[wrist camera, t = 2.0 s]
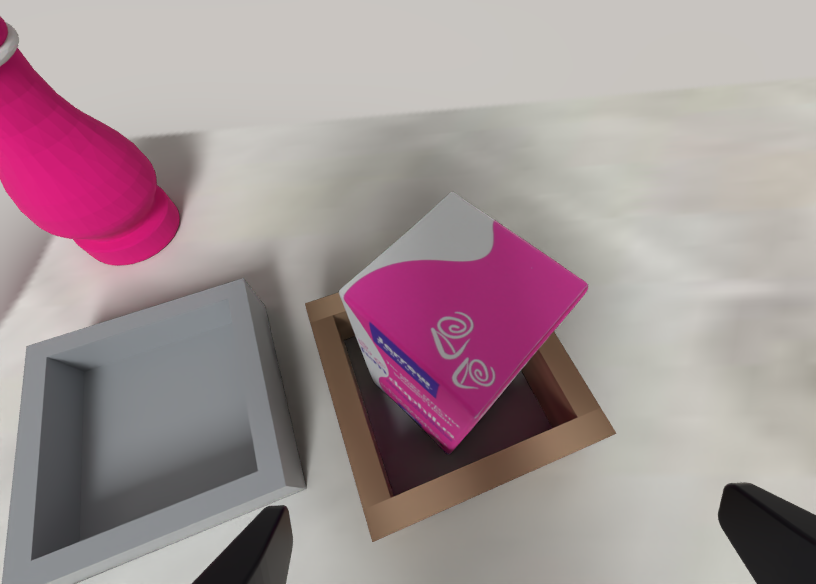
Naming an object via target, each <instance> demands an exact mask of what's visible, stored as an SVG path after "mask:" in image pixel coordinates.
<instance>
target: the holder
mask: <svg viewBox="0 0 816 584" xmlns="http://www.w3.org/2000/svg"><path fill="white" fill-rule="evenodd" d="M305 306H306V309H307V313H308V316H309V320H310V324H311V327H312V331H313V334H314V338H315V341H316V345H317V348H318V352H319V355H320V359H321V362H322V366H323V369H324V373H325V376H326V380H327V384H328V387H329V391H330V394H331V398H332V401H333V405H334V408H335V412H336V415H337V419H338V422H339V426H340V429H341V433H342V436H343V440H344V444H345V447H346V451H347V454H348V458H349V461H350V465H351V468H352V472H353V475H354V479H355V482H356V486H357V489H358V493H359V496H360V500H361V504H362V507H363V511H364V514H365V518H366V521H367V525H368V528H369V532H370V535H371V539H372V542H374V541H376V540H378V539H381V538H383V537H385V536H387V535H390V534H392V533H394V532H396V531H399V530H401V529H403V528H405V527H408V526H410V525H412V524H414V523H417V522H419V521H421V520H423V519H426V518H428V517H430V516H432V515H435V514H437V513H439V512H441V511H444V510H446V509H448V508H450V507H453V506H455V505H457V504H459V503H462V502H464V501H466V500H468V499H471V498H473V497H475V496H477V495H480V494H482V493H484V492H486V491H488V490H491V489H493V488H495V487H497V486H500V485H502V484H504V483H506V482H509V481H511V480H513V479H515V478H518V477H520V476H522V475H524V474H527V473H529V472H531V471H533V470H536V469H538V468H540V467H542V466H545V465H547V464H549V463H551V462H554V461H556V460H558V459H560V458H563V457H565V456H567V455H569V454H572V453H574V452H576V451H578V450H581V449H583V448H585V447H587V446H590V445H592V444H594V443H596V442H599V441H601V440H603V439H605V438H608V437H610V436H612V435H614V434H616V432H615V430H614V429H613V427H612V426H611V424H610V422H609V421H608V419H607V417H606V416H605V414H604V412H603V411H602V409H601V408H600V406H599V404H598V403H597V401H596V399H595V398H594V396H593V394H592V393H591V391H590V390H589V388H588V386H587V385H586V383H585V381H584V380H583V378H582V376H581V375H580V373H579V372H578V370H577V368H576V367H575V365H574V363H573V362H572V360H571V358H570V357H569V355H568V354H567V352H566V350H565V349H564V347H563V345H562V344H561V342H560V341H559V339H558V337H557V336H556V334H555V332H554V331H553V333H552V334H551V335H550V336H549V337H548V339H547V340H546V341H545V342H544V343H543V345H542V346H541V347H540V348H539V349H538V350H537V352H536V353H535V354H534V355H533V356H532V358H531V359H530V360H529V361H528V362H527V364H526V365H525V366H524V367H523V368H522V370H521V371H522V372H523V374H524V376H525V378H526V380H527V382H528V384H529V385H530V387H531V389H532V391H533V393H534V395H535V397H536V398H537V400H538V402H539V404H540V406H541V408H542V410H543V411H544V413H545V415H546V417H547V419H548V421H549V423H550V424H551V426H552V429H550V430H548V431H545V432H543V433H541V434H538V435H536V436H534V437H531V438H529V439H527V440H524V441H522V442H520V443H517V444H515V445H513V446H510V447H508V448H506V449H503V450H501V451H499V452H496V453H494V454H492V455H489V456H487V457H485V458H482V459H480V460H478V461H476V462H473V463H471V464H469V465H466V466H464V467H462V468H459V469H457V470H455V471H452V472H450V473H448V474H445V475H443V476H441V477H438V478H436V479H434V480H431V481H429V482H427V483H424V484H422V485H420V486H417V487H415V488H413V489H410V490H408V491H406V492H403V493H401V494H399V495H396V496H394V495H393V492H392V489H391V486H390V482H389V479H388V476H387V473H386V470H385V467H384V464H383V461H382V458H381V454H380V451H379V448H378V445H377V442H376V439H375V436H374V433H373V430H372V426H371V423H370V420H369V417H368V414H367V411H366V408H365V405H364V402H363V399H362V395H361V392H360V389H359V386H358V383H357V380H356V377H355V374H354V371H353V367H352V364H351V361H350V358H349V355H348V352H347V349H346V346H345V343H344V340H345V339H348V338H351V337H354V336H355V333H354V331H353V328H352V326H351V323H350V320H349V318H348V315H347V312H346V310H345V308H344V305H343V302H342V300H341V297H340V295H339V292H338V293H335V294H332V295H329V296H326V297H323V298H320V299H317V300H314V301H311V302H308V303H305Z"/></svg>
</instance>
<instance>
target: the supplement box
mask: <svg viewBox="0 0 816 584" xmlns="http://www.w3.org/2000/svg"><path fill="white" fill-rule="evenodd" d="M587 290H588V284H587V283H586V282H585V281H583V280H582V279H580V278H579V277H577V276H576V275H574V274H573V273H572V272H570V271H569V270H567V269H566V268H564V267H563V266H562V265H560V264H559V263H557V262H556V261H554V260H553V259H551V258H550V257H548V256H547V255H545V254H544V253H543V252H541V251H540V250H538V249H537V248H535V247H534V246H532V245H531V244H530V243H528V242H527V241H525V240H524V239H522V238H521V237H519V236H518V235H516V234H515V233H513V232H511V231H510V230H509V229H507V228H506V227H504V226H503V225H501V224H500V223H498V222H497V221H496V220H494V219H493V218H491V217H490V216H488V215H487V214H485V213H484V212H482V211H481V210H479V209H478V208H476V207H475V206H473V205H472V204H470V203H469V202H467V201H466V200H465V199H463V198H462V197H460V196H459V195H457V194H456V193H455V192H453V191H452V192H450V193H449V194H448V195H447V196H446V197H445V198H444V199H443V200H442V201H440V202H439V203H438V204H437V205H436V206H435V207H434V208H433V209H432V210H431V211H429V212H428V213H427V214H426V215H425V216H424V217H423V218H422V219H421V220H419V221H418V222H417V223H416V224H415V225H414V226H413V227H412V228H410V229H409V230H408V231H407V232H406V233H405V234H404V235H403V236H402V237H400V238H399V239H398V240H397V241H396V242H395V243H393V244H392V245H391V246H390V247H389V248H387V249H386V250H385V251H384V252H383V253H382V254H381V255H379V256H378V257H377V258H376V259H375V260H374V261H372V262H371V263H370V264H369V265H368V266H367V267H365V268H364V269H363V270H362V271H361V272H360V273H358V274H357V275H356V276H355V277H354V278H353V279H352V280H351V281H349V282H348V283H347V284H346V285H344V286H343V287H342V288H341V289H340V291H339V295H340V297H341V300H342V302H343V305H344V308H345V310H346V312H347V315H348V318H349V320H350V323H351V326H352V328H353V331H354V333H355V336H356V338H357V341H358V344H359V347H360V349H361V351H362V354H363V357H364V359H365V362H366V364H367V367H368V370H369V372H370V374H371V377H372V379H373V382H374V383H375V384H376V385H377V386H378V387H379V388H380V389H381V390H382V391H384V392H385V393H386V394H387V395H388V396H389V397H390V398H391V399H393V400H394V401H395V402H396V403H397V404H398V405H399V406H400V407H401V408H402V409H403V410H404V411H405V412H406V413H407V414H408V415H409V416H410V417H411V418H412V419H413V420H414V421H415V422H416V423H417V424H418V425H419V426H420V427H421V428H422V429H423V430H424V431H425V432H426V433H427V434H428V435H429V436H430V437H431V438H432V439H433V440H434V441H435V442H436V443H437V444H438V446H439V447H440V448H441V449H442V450H443V451H444V452H445V453H446V454H451V453H452V452H453V450H454V449H455V448H456V447H457V446H458V445H459V443H460V442H461V441H462V440H463V439H464V438H465V437H466V435H467V434H468V433H469V432H470V431H471V430H472V428H473V427H474V426H475V425H476V424H477V423H478V421H479V420H480V419H481V418H482V417H483V416H484V414H485V413H486V412H487V411H488V410H489V408H490V407H491V406H492V405H493V404H494V402H495V401H496V400H497V399H498V398H499V396H500V395H501V394H502V393H503V391H504V390H505V389H506V388H507V387H508V385H509V384H510V383H511V382H512V380H513V379H514V378H515V377H516V376H517V374H518V373H519V372H520V371H521V370H522V368H523V367H524V366H525V365H526V364H527V362H528V361H529V360H530V359H531V358H532V356H533V355H534V354H535V353H536V352H537V350H538V349H539V348H540V347H541V346H542V345H543V343H544V342H545V341H546V340H547V339H548V337H549V336H550V335H551V334H552V333H553V331H554V330H555V329H556V328H557V327H558V326H559V324H560V323H561V322H562V321H563V320H564V318H565V317H566V316H567V315H568V314H569V313H570V311H571V310H572V309H573V308H574V307H575V305H576V304H577V303H578V302H579V301H580V299H581V298H582V297H583V296H584V294H585V293H586V292H587Z"/></svg>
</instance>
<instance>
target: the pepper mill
mask: <svg viewBox="0 0 816 584" xmlns="http://www.w3.org/2000/svg"><path fill="white" fill-rule="evenodd" d="M18 43H19V37H18V34H17V32H16V30H15V29H14V28H13V27H12V26H11V25H9V24H8V23H6V22H4V20H3V19H2V18H1V17H0V180H1V182H2V184H3V186H4V188H5V190H6V192H7V193H8V195H9V196H10V197H11V199H12V200H13V201H14V203H15V204H16V205H17V207H18V208H19V209H20V210H21V212H22V213H24V214H25V215H26V216H27V217H28V218H29V219H30V220H31V221H33V222H34V223H35V224H36V225H37V226H39V227H40V228H41V229H43V230H45V231H47V232H48V233H50V234H53V235H56V236H60V237H64V238H69V239H73V240H74V241H75V242H76V244H77V245H78V246H80V247H81V248H82V249H83V250H85V251H86V252H87V253H89V254H90V255H91V256H92V257H94V258H95V259H97V260H99V261H100V262H103V263H105V264H109V265H117V266H118V265H129V264H134V263H137V262H140V261H143V260H146V259H148V258H150V257H151V256H153V255H155V254H157V253H158V252H159V251H161V250H162V249H163V248H164V247H165V246H167V244H168V243H169V242H170V241H171V240H172V238H173V237H174V236H175V234H176V231H177V229H178V226H179V212H178V209H177V207H176V206H175V204H174V203H173V202H172V201H171V199H170V198H169V197H168V196H167V194H166V193H165V192H164V191H163V190H162V189H161V188H160V187H159V186H157V180H156V174H155V170H154V168H153V166H152V164H151V162H150V161H149V160H148V158H147V157H146V156H145V155H144V154H143V153H142V152H141V151H140V150H139V149H138V148H137V147H136V146H135V145H134V143H132V142H131V141H130V140H128V139H127V138H126V137H124V136H123V135H121V134H120V133H119V132H117V131H116V130H114V129H112V128H111V127H109V126H107V125H105V124H104V123H102V122H100V121H98V120H96V119H94V118H93V117H91V116H89V115H87V114H85V113H83V112H81V111H80V110H78V109H77V108H75V107H74V106H73V105H71V104H70V103H69V102H67V101H66V100H65V99H64V98H62V97H61V96H60V95H58V94H57V93H56V92H55V91H54V90H53V89H52V88H51V87H50V86H49V85H48V84H47V83H46V82H45V80H44V79H43V78H42V77H41V76H40V75H39V74H38V73H37V72H36V71H35V70H34V69H33V68H32V66H31V65H30V64H29V62H28V61H27V60H26V58H25V57H24V56H23V54H22V53H21V52H20V50H19V49H18V48H17V47H18Z"/></svg>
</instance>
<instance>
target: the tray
mask: <svg viewBox="0 0 816 584" xmlns="http://www.w3.org/2000/svg"><path fill="white" fill-rule="evenodd" d="M305 489H306V485H305V480H304V476H303V471H302V467H301V463H300V458H299V454H298V449H297V445H296V441H295V436H294V432H293V427H292V423H291V418H290V414H289V410H288V405H287V401H286V396H285V392H284V387H283V383H282V379H281V374H280V370H279V365H278V361H277V357H276V352H275V348H274V343H273V339H272V334H271V330H270V326H269V321H268V317H267V312H266V308H265V305H264V304H263V303H262V302H261V300H260V299H259V298H258V296H257V295H256V294H255V292H254V291H253V290H252V289H251V287H250V286H249V285H248V283H247V282H246V281H245V279H244V278H242V279H239V280H236V281H232V282H229V283H226V284H223V285H220V286H217V287H213V288H210V289H207V290H204V291H201V292H197V293H194V294H191V295H188V296H185V297H182V298H178V299H175V300H172V301H169V302H166V303H162V304H159V305H156V306H153V307H150V308H147V309H143V310H140V311H137V312H134V313H131V314H128V315H124V316H121V317H118V318H115V319H112V320H108V321H105V322H102V323H99V324H96V325H93V326H89V327H86V328H83V329H80V330H77V331H73V332H70V333H67V334H64V335H61V336H58V337H54V338H51V339H48V340H45V341H42V342H39V343H35V344H32V345H29V346H27V347H26V357H25V366H24V376H23V386H22V395H21V405H20V414H19V424H18V433H17V443H16V453H15V462H14V472H13V481H12V491H11V501H10V510H9V520H8V529H7V539H6V549H5V558H4V568H3V577H2V584H76V583H78V582H81V581H83V580H85V579H88V578H90V577H93V576H95V575H98V574H100V573H103V572H105V571H107V570H110V569H112V568H115V567H117V566H120V565H122V564H124V563H127V562H129V561H132V560H134V559H137V558H139V557H141V556H144V555H146V554H149V553H151V552H154V551H156V550H159V549H161V548H163V547H166V546H168V545H171V544H173V543H176V542H178V541H180V540H183V539H185V538H188V537H190V536H193V535H195V534H197V533H200V532H202V531H205V530H207V529H210V528H212V527H215V526H217V525H219V524H222V523H224V522H227V521H229V520H232V519H234V518H236V517H239V516H241V515H244V514H246V513H249V512H251V511H253V510H256V509H258V508H261V507H263V506H266V505H268V504H271V503H273V502H275V501H278V500H280V499H283V498H285V497H288V496H290V495H292V494H295V493H297V492H300V491H302V490H305Z"/></svg>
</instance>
